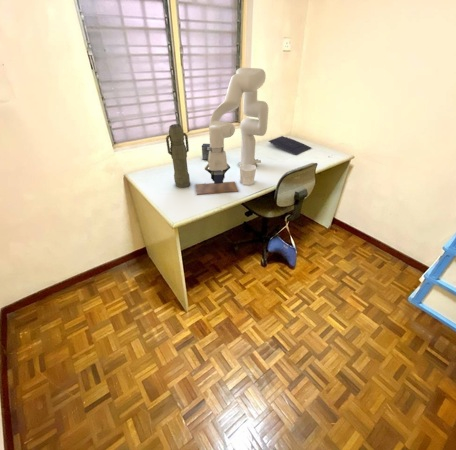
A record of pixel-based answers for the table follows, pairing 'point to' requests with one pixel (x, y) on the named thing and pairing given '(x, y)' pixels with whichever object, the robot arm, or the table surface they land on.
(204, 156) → the small box
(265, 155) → the table surface
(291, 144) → the black flat slab
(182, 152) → the thermos
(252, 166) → the cup
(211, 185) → the mat
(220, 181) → the block
